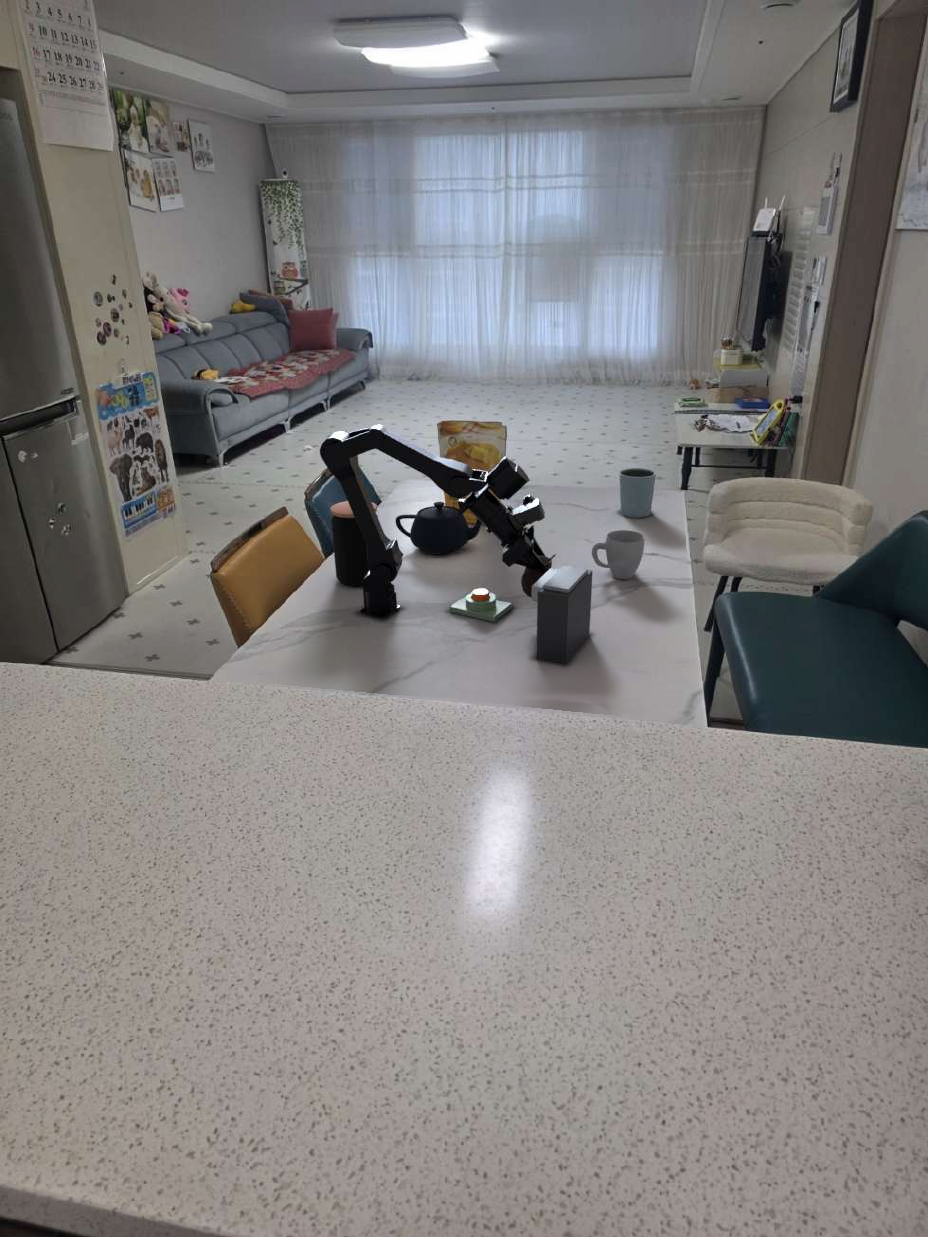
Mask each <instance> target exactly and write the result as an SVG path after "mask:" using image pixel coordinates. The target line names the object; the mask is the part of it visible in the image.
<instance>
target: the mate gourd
mask: <svg viewBox="0 0 928 1237" xmlns="http://www.w3.org/2000/svg"><path fill="white" fill-rule="evenodd" d="M556 556H557V554H556V553H555V554H552V556H551V557H548V556H546V555H545V556H539V555H538V557H539V558H540V560H541V561H542V562H543V564H544V565H545V567H546V568H547V571H548V570H549V569H550V568H553V567H552V566H553V564H552V563H553V559H555V557H556ZM547 571H546V572H547ZM546 572H545V573H546ZM545 573H542V572H539V571H536V570H533V569H530V568H527V567H525V568H524V569H523V573H522V574H521V578H520V585H521V589H522V592H523V593H524V594H525V595H526V596H527V597H528V598H531V599H532V585H533V584H534V583H536V582H537V581H538V580H539V579H540V578H541V577H542V576H543V575H544V574H545Z"/></svg>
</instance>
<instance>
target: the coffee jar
mask: <svg viewBox="0 0 928 1237" xmlns="http://www.w3.org/2000/svg"><path fill="white" fill-rule="evenodd" d="M371 502H372V505H373V507H374V510H375V512H376V515H377V517H378V518H379V516H378V514H377V512H378V511H377V510H378V505H377V504H376V503H375V502H373V501H371ZM330 513H331V515H332V516H331V518H330V522H331V534H332V544H333V555H334V565H335V577H336V579H337V581H338V582H339V583H340V585H342V586H344V587H348V588H362V586H361V581H362V580H363V578H364V576H365V574H366V572H367V570H368V568H369V565H368V560H367V549H366V543H365V541H364V538H363V536H362V534H361V531H360V529H359V527H358V524H357V522H356V519H355V517H354V515H353V512H352V510H351V508H350V505H349V503H348V500H345V501H341V502H340V501H339V502H337V503H334V504H333V505H331V506H330Z"/></svg>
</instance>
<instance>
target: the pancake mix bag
mask: <svg viewBox="0 0 928 1237" xmlns="http://www.w3.org/2000/svg"><path fill="white" fill-rule="evenodd" d="M436 426H437V427H436V428H437V440H438V441H437V442H438V446H439V457H441V458H446V459H452V460H455V461H458V462H461V463H464V464H466V465H468V466H470V467H471V468H472V469H475V470H482V471H488V472H490V471H491V470H493V469H494V468H495V467H496V466H497V465H498V464H499V462H500V461H501V460H502V459H503V458H504V457H507V455H506V454H507V439H508V428H507V425H506V424H503V422H501V421H479V420H441V421H440V422H437V423H436ZM488 490H489V491H490V492H491V493H492V494H493V495H494V496H495V494H494V493H493V492H492V491H491V490H490V489H488ZM478 492H479V491H478ZM471 493H472V492H471ZM471 493H469V494H468V495H467V496H465V497H463V498H460V499H466V498H467V497H468V496H469V495H470V494H471ZM443 496H444V503H445V505H444V506H451V507H455V508H458V509H459V505H458V501H459V499H456V498H453V497H451V496H449V495H448V494H447V493H445V492H444V491H443ZM495 497H496V498H497V499H498V500H499V501H500V502H501V503H502V501H501V500H502V499H499V498H498V497H497V496H495ZM463 515H464V517H465V519H466V521H467V523H468V525H475V523H476V521H477V517H476V516H475V515H474V514H473V513H472V512H470V511H469V510H468V509H467V510H466V511H465V512H464V513H463ZM481 525H482V526H483V525H484V524H483V523H482V524H481ZM484 526H485V525H484Z"/></svg>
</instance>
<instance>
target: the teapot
mask: <svg viewBox="0 0 928 1237" xmlns="http://www.w3.org/2000/svg"><path fill="white" fill-rule="evenodd" d="M404 519H411V520H412V519H413V522H412V525H411V528H410V530H409V531H410V532H409V531H407V529H405V527H404V526H403V525H402V523H401V520H404ZM394 520H395V525H396V527H397V529H398V530H399V531H400V532H401V533H402V534H403V535H405V536H406V537H407V538H409V539H410V541H411V543H412V545H413V546H414V547H415V548H417V549H418V550H419V551H421V552H422V553H425V554H429V555H449V554H453V553H454V554H455V553H457V552H459V551H461V550H462V549H463V547H465V546H466V545H467V544H468V542H469V541H472V540H473V539H475V538H477V536H478V535H479V532H480V530H481V528H482V525H483V524H482V522H481V521H480V520H479V519H478V518H477V521H476V523H475V524H473V525H472V527H470V526H469V524H468V523H467V521H466V519H465V517H464V515H463V514H462V515H459V509H458V508H455V507H451V506H445V501H444V502H443V501H435V502H433V506H427V507H424V508H420V509H419V510H418V511H417V512H416V514H401V515H400V514H399V515H398V516H396V517H395V519H394Z"/></svg>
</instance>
